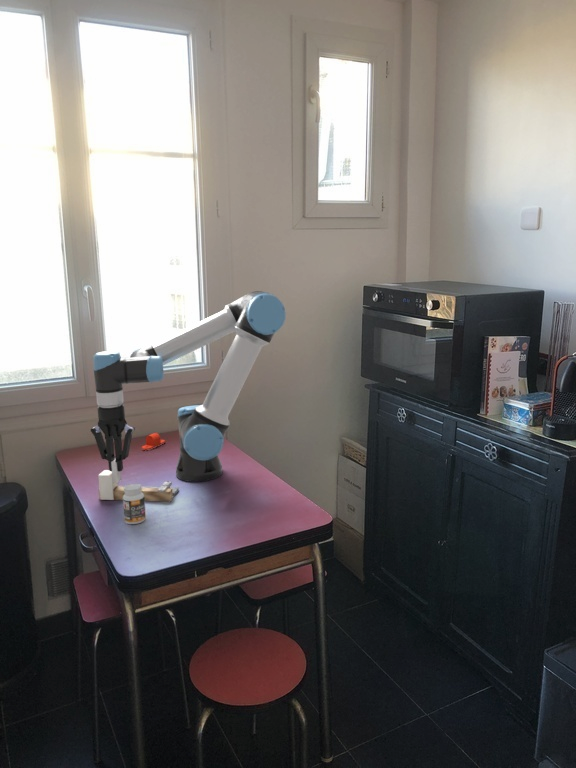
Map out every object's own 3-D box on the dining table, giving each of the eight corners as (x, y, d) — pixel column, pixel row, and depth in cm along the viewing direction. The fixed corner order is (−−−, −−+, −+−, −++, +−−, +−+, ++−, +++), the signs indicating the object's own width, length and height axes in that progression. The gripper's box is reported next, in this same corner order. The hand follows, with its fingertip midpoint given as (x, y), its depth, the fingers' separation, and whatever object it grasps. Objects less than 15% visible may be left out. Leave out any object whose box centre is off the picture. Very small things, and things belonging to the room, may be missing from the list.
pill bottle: (135, 526, 168) (132, 492, 166) (120, 522, 171) (117, 488, 169) (150, 518, 173) (147, 485, 171) (135, 514, 176) (132, 481, 174)
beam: (172, 498, 187) (172, 488, 186) (170, 501, 184) (169, 491, 184) (102, 495, 190) (102, 486, 189) (99, 499, 187) (98, 489, 187)
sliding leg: (123, 490, 193) (121, 466, 191) (113, 499, 186) (111, 475, 184) (110, 489, 194) (108, 466, 192) (100, 499, 186) (98, 475, 185)
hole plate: (178, 490, 193) (178, 487, 192) (174, 496, 188) (174, 492, 188) (110, 488, 195) (110, 485, 195) (104, 494, 191) (104, 490, 191)
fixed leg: (172, 488, 191) (171, 481, 190) (164, 497, 184) (163, 490, 183) (165, 488, 191) (165, 481, 191) (158, 497, 184) (157, 490, 184)
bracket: (147, 452, 231) (146, 439, 230) (139, 450, 233) (138, 437, 232) (167, 443, 241) (166, 430, 240) (159, 442, 243) (158, 429, 242)
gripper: (136, 401, 184) (142, 477, 189) (94, 401, 186) (101, 476, 191) (127, 408, 177) (133, 486, 182) (83, 407, 179) (91, 485, 184)
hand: (117, 481), depth 187 cm, fingers closed
